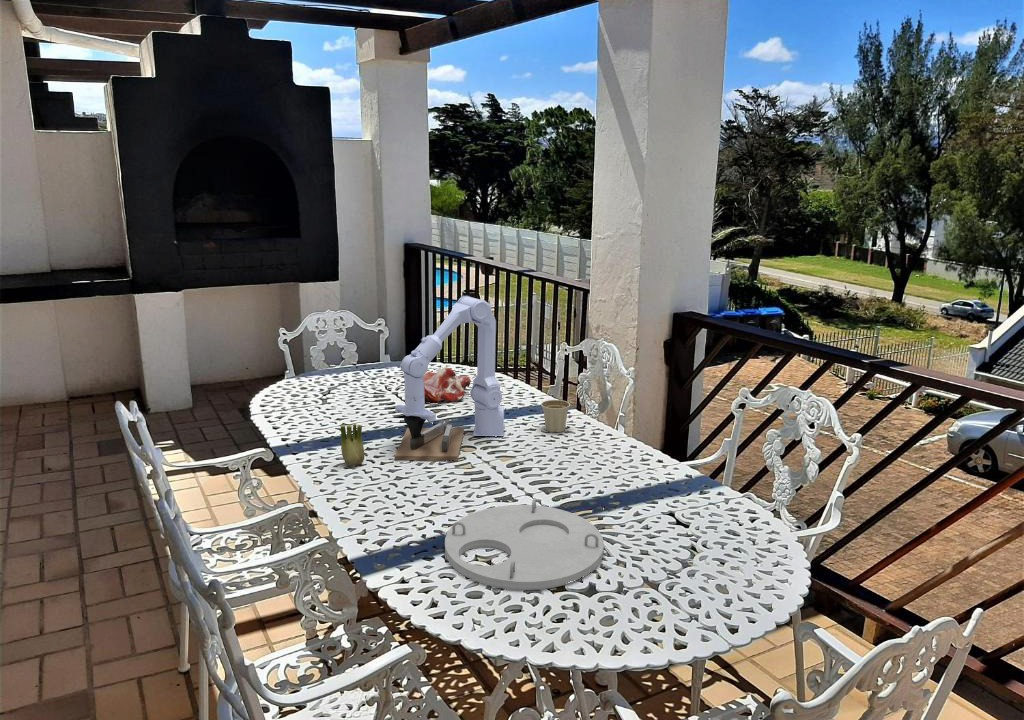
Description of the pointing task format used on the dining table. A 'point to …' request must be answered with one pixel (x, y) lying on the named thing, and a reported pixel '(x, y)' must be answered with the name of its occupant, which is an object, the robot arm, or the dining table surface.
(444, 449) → the fixed tong arm
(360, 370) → the dining table surface
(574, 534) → the slab
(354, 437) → the fennel bulb
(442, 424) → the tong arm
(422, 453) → the walnut board
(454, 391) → the meat
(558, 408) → the flower pot
